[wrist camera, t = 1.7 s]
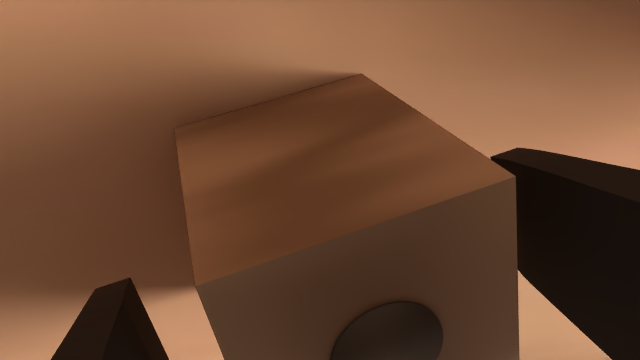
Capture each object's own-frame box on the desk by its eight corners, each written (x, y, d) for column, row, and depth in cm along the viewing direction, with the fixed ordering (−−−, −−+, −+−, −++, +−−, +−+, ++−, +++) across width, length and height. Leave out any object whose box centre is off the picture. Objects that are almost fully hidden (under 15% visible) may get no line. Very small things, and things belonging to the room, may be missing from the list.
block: (361, 73, 12) (518, 178, 7) (386, 229, 15) (522, 397, 9) (174, 127, 12) (195, 289, 6) (229, 283, 14) (279, 500, 9)
